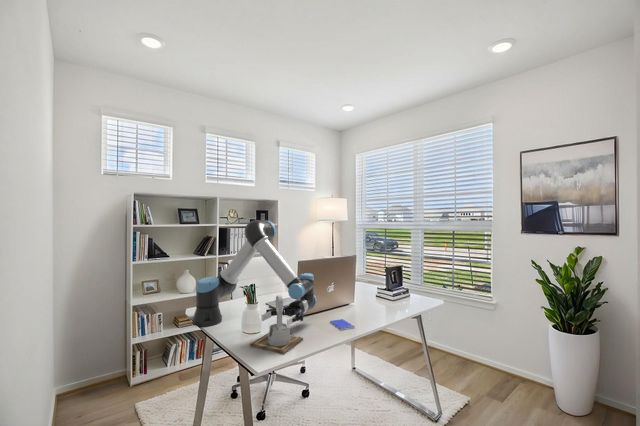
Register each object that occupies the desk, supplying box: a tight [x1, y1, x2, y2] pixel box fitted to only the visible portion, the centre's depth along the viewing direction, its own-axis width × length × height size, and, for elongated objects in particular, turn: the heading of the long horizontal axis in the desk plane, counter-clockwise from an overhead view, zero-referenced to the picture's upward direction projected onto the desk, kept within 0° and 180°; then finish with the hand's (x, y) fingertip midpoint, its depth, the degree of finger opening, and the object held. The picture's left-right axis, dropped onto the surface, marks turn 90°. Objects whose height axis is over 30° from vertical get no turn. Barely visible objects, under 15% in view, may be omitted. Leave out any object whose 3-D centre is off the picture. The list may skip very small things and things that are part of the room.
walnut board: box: [249, 332, 304, 355], centre depth 140 cm, size 18×16×1 cm
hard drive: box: [329, 318, 356, 331], centre depth 164 cm, size 2×8×12 cm
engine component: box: [268, 294, 291, 346], centre depth 140 cm, size 11×20×10 cm
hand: (274, 320), depth 138 cm, fingers open, 13 cm apart
